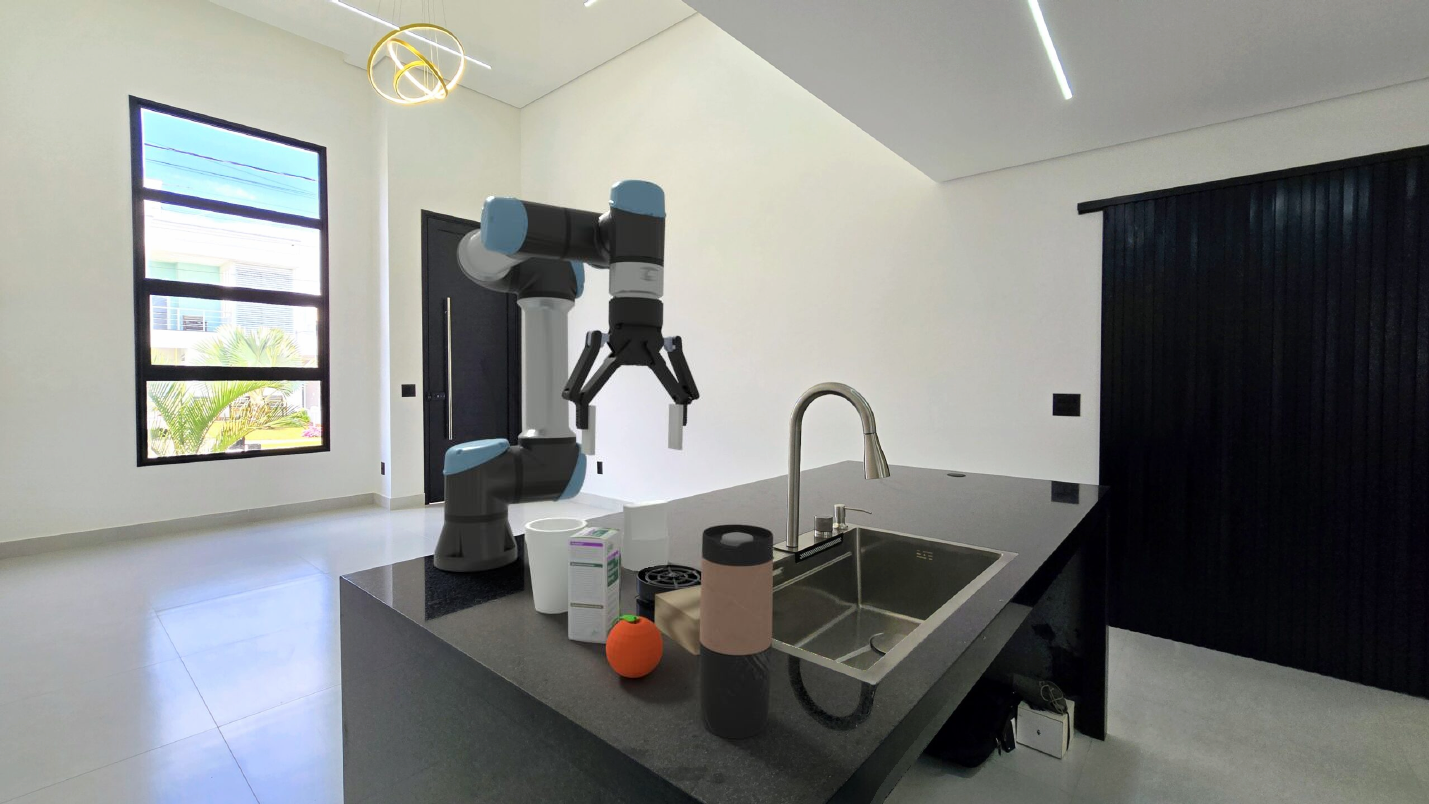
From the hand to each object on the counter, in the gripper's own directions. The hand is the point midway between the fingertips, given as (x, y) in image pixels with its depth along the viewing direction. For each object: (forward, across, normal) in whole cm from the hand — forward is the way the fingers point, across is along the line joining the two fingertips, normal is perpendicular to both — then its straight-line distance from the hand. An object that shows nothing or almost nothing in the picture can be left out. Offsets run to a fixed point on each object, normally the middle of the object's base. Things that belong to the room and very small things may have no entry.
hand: (633, 451), depth 85 cm
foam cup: (+26, -5, +16) cm, 31 cm away
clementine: (+26, -5, -10) cm, 28 cm away
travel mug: (+26, -1, -25) cm, 36 cm away
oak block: (+26, +10, -5) cm, 28 cm away
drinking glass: (+26, +17, +27) cm, 42 cm away
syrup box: (+26, -4, +3) cm, 27 cm away
